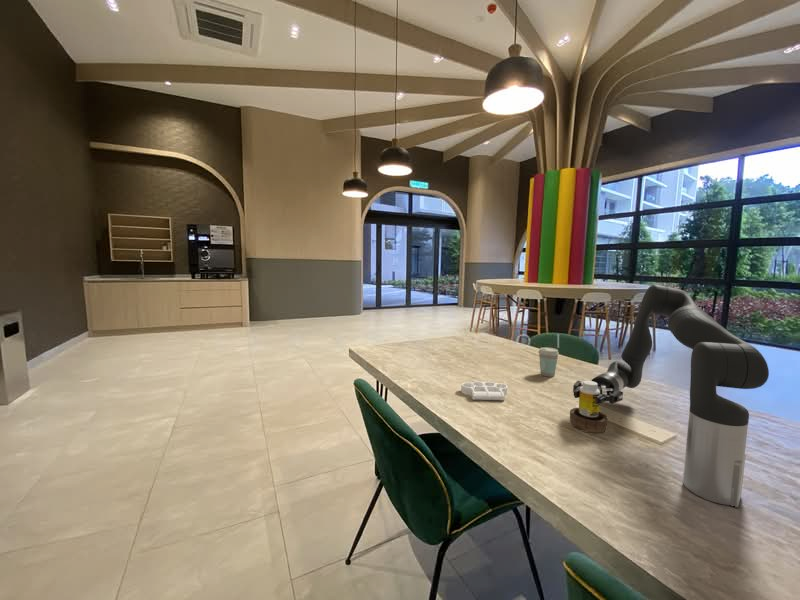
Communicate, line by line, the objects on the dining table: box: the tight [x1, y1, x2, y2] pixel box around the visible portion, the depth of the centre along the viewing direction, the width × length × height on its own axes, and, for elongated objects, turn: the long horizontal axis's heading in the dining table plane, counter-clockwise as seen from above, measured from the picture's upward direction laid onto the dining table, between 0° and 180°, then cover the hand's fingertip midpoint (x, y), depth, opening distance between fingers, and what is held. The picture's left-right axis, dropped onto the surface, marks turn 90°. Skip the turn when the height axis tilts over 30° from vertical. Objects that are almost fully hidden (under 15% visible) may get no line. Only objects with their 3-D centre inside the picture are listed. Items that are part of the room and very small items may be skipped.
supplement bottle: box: [578, 380, 600, 417], centre depth 104 cm, size 6×6×10 cm
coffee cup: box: [538, 346, 560, 378], centre depth 152 cm, size 8×9×12 cm
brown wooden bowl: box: [569, 407, 609, 434], centre depth 104 cm, size 10×10×4 cm
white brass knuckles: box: [460, 380, 509, 402], centre depth 130 cm, size 3×18×15 cm
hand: (586, 397), depth 102 cm, fingers closed on supplement bottle, 5 cm apart
